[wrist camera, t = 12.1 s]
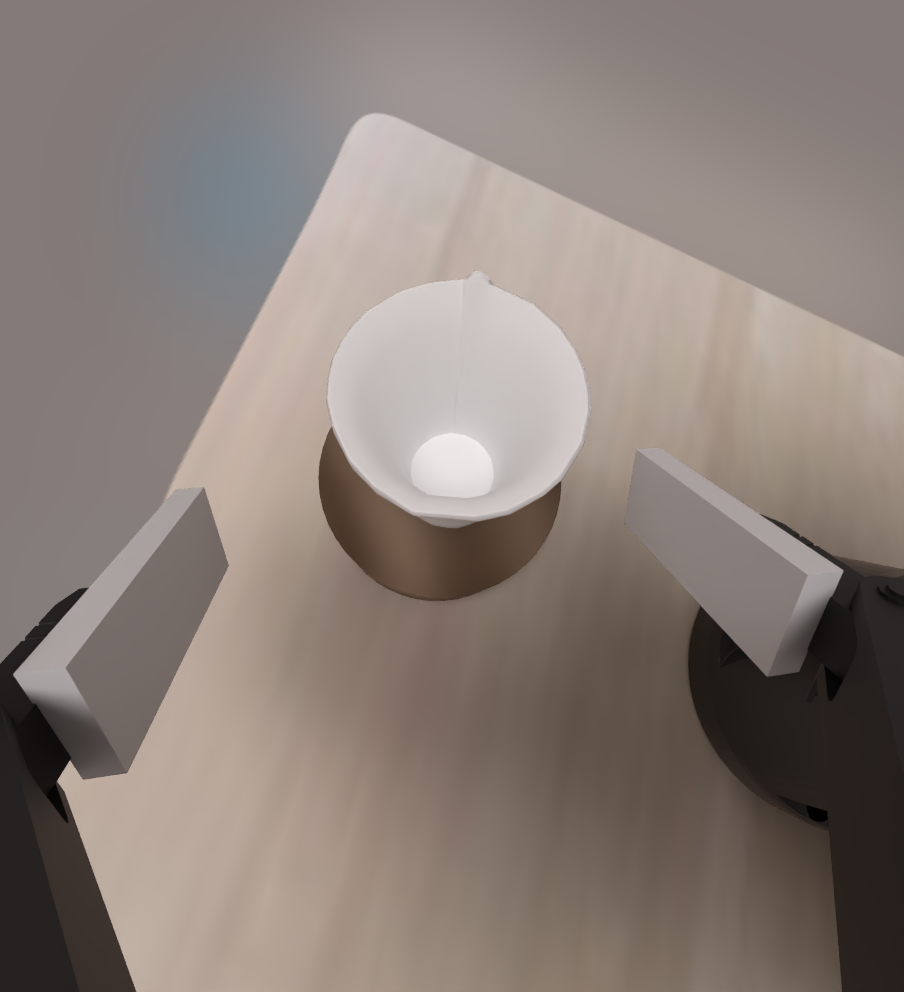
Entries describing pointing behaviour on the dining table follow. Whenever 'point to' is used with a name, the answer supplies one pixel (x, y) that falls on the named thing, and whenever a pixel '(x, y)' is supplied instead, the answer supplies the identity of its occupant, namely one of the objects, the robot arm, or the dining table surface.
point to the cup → (458, 401)
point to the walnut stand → (426, 537)
